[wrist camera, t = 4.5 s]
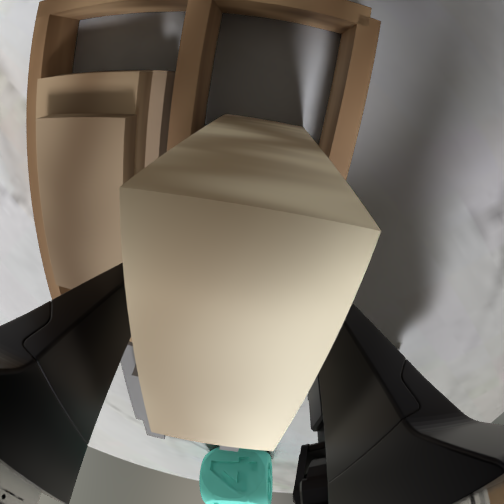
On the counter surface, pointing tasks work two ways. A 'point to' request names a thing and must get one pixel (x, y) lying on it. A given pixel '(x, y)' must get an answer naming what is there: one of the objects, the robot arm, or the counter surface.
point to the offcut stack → (94, 160)
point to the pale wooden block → (238, 277)
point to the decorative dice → (236, 477)
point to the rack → (208, 68)
